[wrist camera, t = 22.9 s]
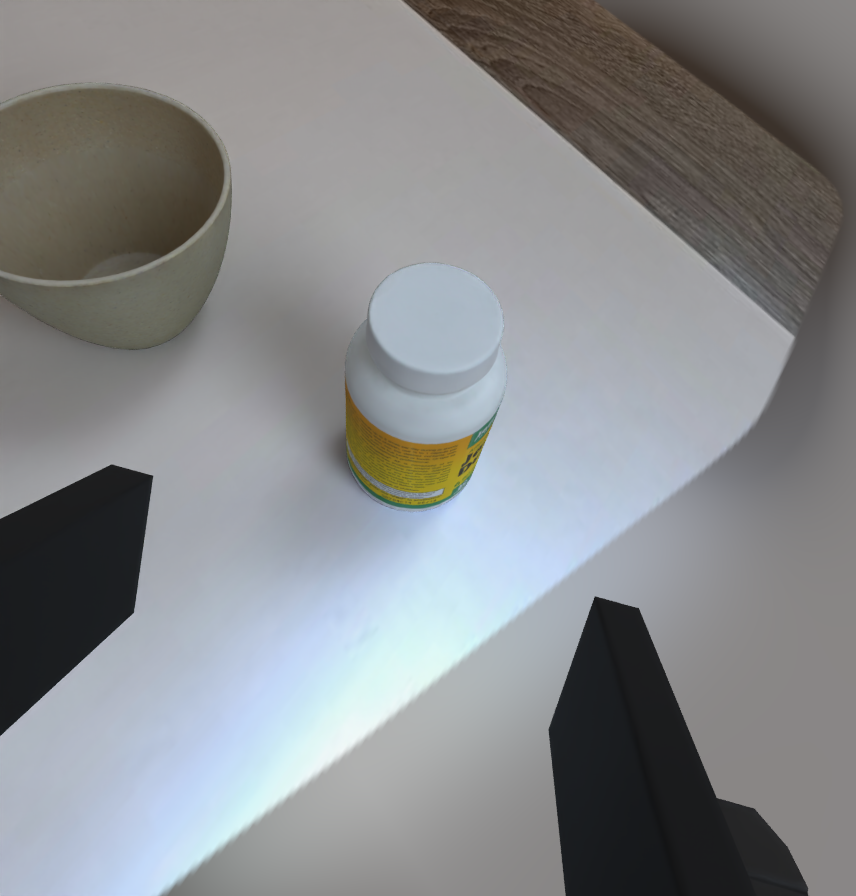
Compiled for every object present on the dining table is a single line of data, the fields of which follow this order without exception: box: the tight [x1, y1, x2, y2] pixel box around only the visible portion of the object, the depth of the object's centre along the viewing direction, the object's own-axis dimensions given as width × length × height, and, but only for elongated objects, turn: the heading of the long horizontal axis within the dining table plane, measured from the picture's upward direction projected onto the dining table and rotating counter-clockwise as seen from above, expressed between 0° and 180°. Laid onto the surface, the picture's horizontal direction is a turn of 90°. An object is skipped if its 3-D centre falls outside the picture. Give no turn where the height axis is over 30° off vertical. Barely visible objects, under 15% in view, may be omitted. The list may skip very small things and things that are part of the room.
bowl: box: [0, 83, 232, 350], centre depth 27 cm, size 10×10×7 cm
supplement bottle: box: [345, 263, 507, 512], centre depth 24 cm, size 5×5×10 cm
